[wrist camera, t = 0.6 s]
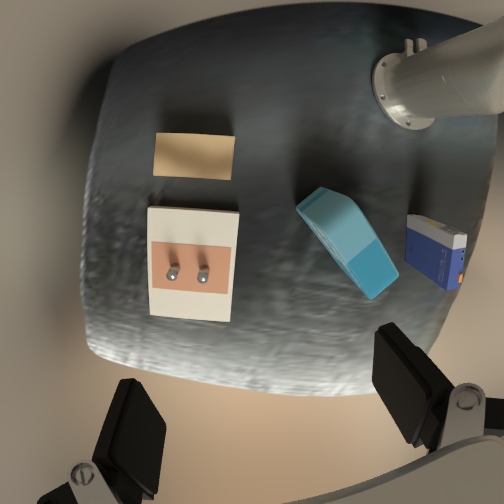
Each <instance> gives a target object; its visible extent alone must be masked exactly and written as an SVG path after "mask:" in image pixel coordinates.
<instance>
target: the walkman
mask: <svg viewBox="0 0 504 504" xmlns="http://www.w3.org/2000/svg"><path fill="white" fill-rule="evenodd" d="M466 240H467V234H465V233H462V232H460V231H458V230H457V229H454V228H452V227H450V226H446V225H444V224H441V223H439V222H436V221H434V220H431V219H429V218H426V217H424V216H421V215H414V214H411V215H407V237H406V253H405V261H406V262H407V263H408V264H410V265H411V266H413V267H414V268H416V269H417V270H418V271H420V272H421V273H423V274H424V275H426V276H427V277H428V278H430V279H431V280H433V281H434V282H435V283H437V284H438V285H439V286H441V287H442V288H443V289H445V290H446V291H448V290H451V289H455V288H458V287H460V282H461V281H462V276H463V274H462V270H463V264H464V257H465V249H466Z"/></svg>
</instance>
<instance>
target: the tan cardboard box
mask: <svg viewBox="0 0 504 504" xmlns="http://www.w3.org/2000/svg"><path fill="white" fill-rule="evenodd" d="M234 141H235V137H233V136H220V135H205V134H183V133H157V134H156V145H155V157H154V172H153V175H154V176H178V177H196V178H211V179H225V180H231V170H232V160H233V151H234Z"/></svg>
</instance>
